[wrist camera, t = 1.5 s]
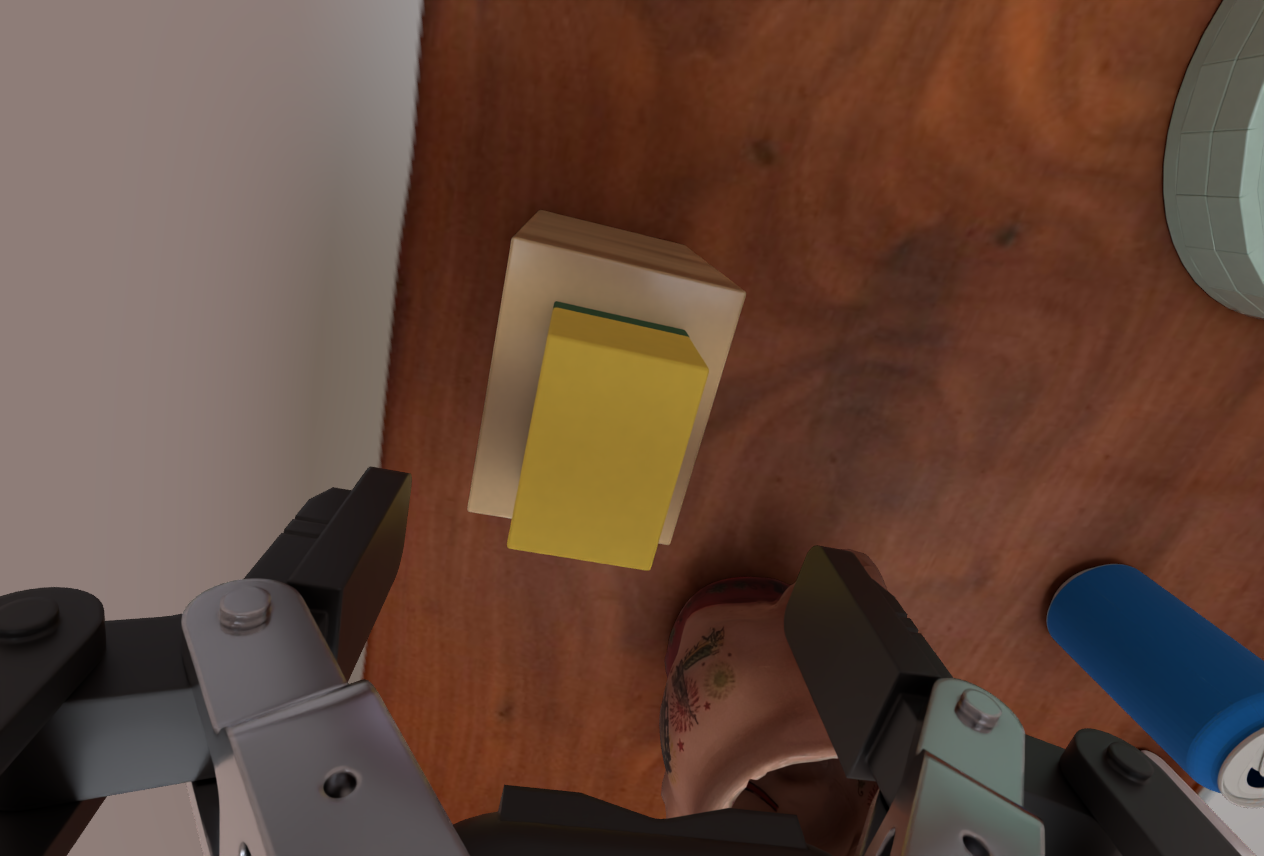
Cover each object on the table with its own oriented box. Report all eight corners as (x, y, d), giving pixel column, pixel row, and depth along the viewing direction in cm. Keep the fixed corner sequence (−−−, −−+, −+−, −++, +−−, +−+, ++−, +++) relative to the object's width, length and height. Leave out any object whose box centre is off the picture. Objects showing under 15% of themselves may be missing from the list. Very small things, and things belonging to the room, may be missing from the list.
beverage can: (1033, 648, 41) (1199, 825, 30) (1043, 566, 39) (1228, 726, 28) (1130, 631, 41) (1332, 801, 30) (1147, 548, 39) (1373, 701, 28)
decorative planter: (675, 454, 34) (732, 629, 21) (888, 476, 35) (1062, 652, 23) (623, 730, 41) (641, 984, 28) (801, 739, 43) (895, 984, 30)
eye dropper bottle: (1108, 803, 48) (1266, 996, 37) (1117, 751, 46) (1288, 939, 35) (1165, 792, 48) (1340, 981, 37) (1176, 740, 46) (1367, 924, 34)
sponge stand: (538, 209, 29) (511, 235, 18) (686, 245, 30) (747, 292, 19) (506, 392, 32) (466, 512, 21) (640, 418, 33) (670, 546, 22)
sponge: (554, 300, 18) (547, 333, 15) (686, 329, 19) (711, 369, 15) (519, 480, 21) (505, 549, 17) (638, 501, 21) (650, 572, 17)
